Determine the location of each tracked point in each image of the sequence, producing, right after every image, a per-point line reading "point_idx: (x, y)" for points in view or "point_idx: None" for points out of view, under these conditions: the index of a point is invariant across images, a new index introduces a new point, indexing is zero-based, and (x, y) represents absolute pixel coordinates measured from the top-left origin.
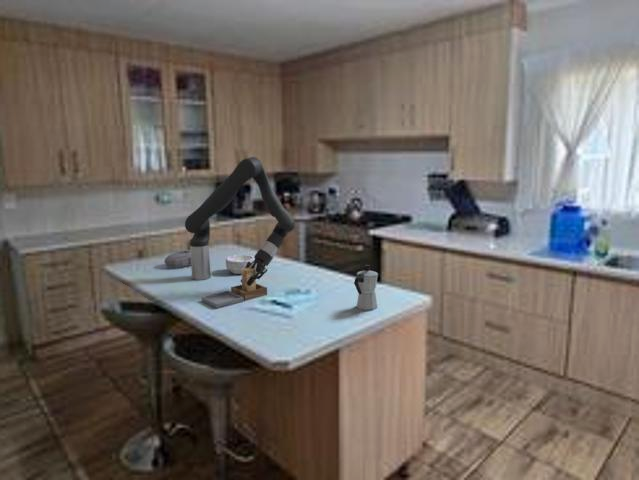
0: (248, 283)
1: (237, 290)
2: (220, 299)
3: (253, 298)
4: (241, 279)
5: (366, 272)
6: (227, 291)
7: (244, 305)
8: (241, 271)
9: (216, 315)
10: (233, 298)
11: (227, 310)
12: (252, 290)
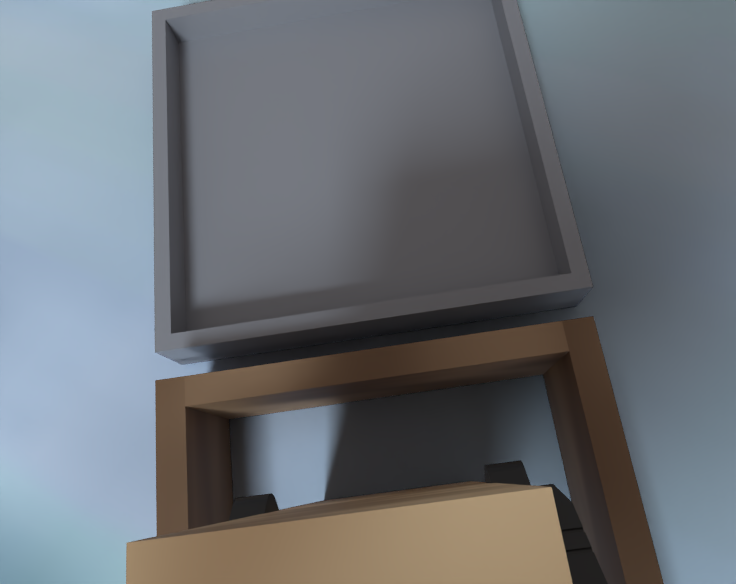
0: None
1: (384, 350)
2: (372, 131)
3: None
4: None
5: None
6: (567, 270)
7: (62, 318)
8: (528, 486)
9: (23, 6)
10: (311, 273)
11: (61, 118)
12: None
